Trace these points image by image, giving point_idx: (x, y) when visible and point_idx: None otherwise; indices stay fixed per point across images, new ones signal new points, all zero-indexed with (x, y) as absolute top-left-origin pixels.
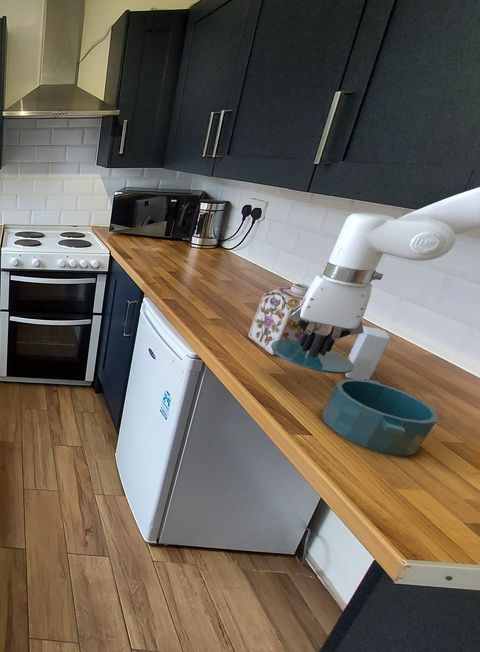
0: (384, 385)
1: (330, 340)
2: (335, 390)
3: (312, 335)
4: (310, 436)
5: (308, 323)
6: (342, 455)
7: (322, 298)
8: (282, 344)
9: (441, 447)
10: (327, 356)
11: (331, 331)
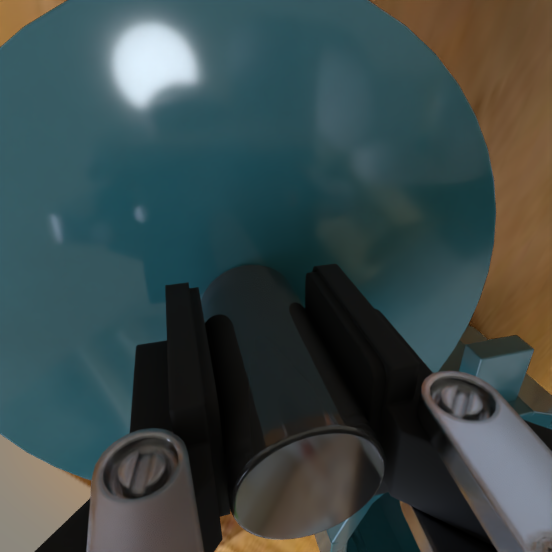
0: (527, 417)
1: (384, 491)
2: (322, 540)
3: (227, 496)
4: (248, 532)
5: None
6: (308, 541)
7: None
8: (6, 260)
9: (548, 353)
10: (359, 252)
11: (447, 456)
